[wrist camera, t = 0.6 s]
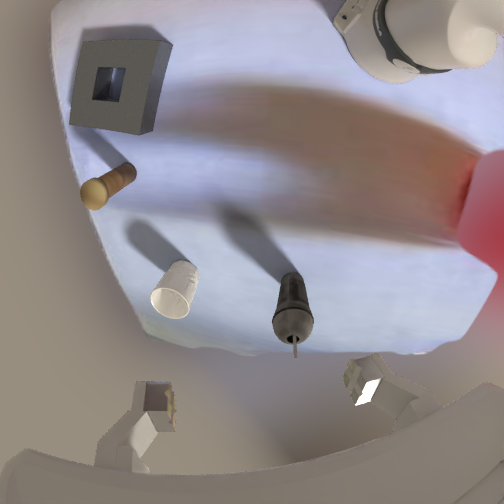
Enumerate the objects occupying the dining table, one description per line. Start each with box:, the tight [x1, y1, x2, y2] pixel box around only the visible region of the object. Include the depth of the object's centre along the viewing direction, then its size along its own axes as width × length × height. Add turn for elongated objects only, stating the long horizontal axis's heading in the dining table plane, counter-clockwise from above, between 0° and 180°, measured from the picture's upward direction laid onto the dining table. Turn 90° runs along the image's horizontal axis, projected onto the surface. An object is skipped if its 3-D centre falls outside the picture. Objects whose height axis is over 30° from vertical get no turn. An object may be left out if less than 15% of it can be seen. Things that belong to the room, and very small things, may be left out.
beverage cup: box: [272, 273, 314, 358], centre depth 47 cm, size 7×7×20 cm
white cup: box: [150, 260, 199, 319], centre depth 54 cm, size 8×8×10 cm
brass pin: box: [80, 163, 137, 210], centre depth 42 cm, size 5×5×12 cm
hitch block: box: [69, 40, 173, 135], centre depth 35 cm, size 16×16×5 cm
